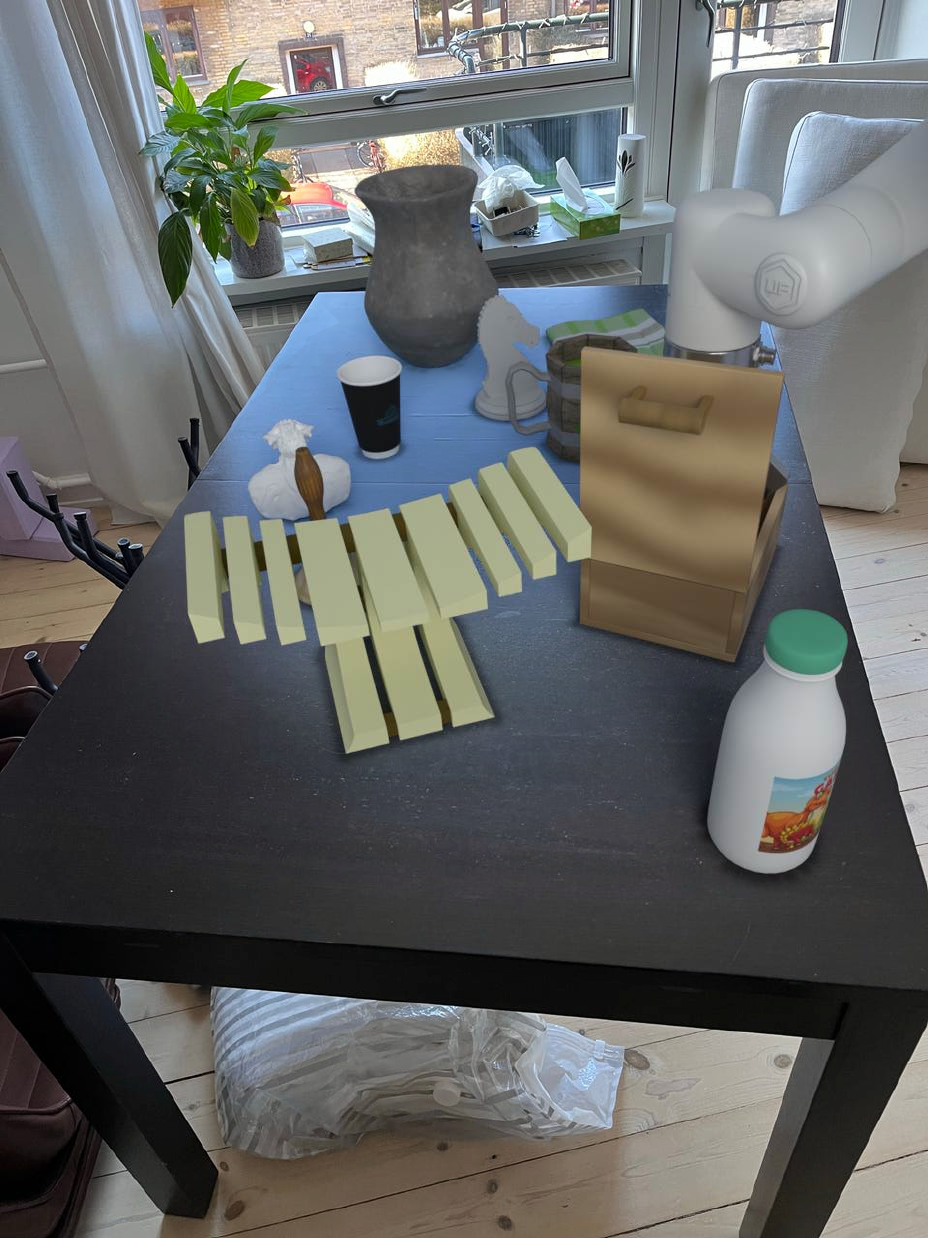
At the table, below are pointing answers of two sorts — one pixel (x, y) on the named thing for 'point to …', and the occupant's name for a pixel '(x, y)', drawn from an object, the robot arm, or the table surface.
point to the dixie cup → (374, 403)
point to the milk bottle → (781, 747)
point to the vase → (425, 263)
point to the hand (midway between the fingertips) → (689, 532)
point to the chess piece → (506, 361)
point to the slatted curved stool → (390, 588)
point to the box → (679, 598)
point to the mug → (562, 391)
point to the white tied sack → (277, 481)
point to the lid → (675, 462)
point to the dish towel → (617, 330)
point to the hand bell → (311, 507)
